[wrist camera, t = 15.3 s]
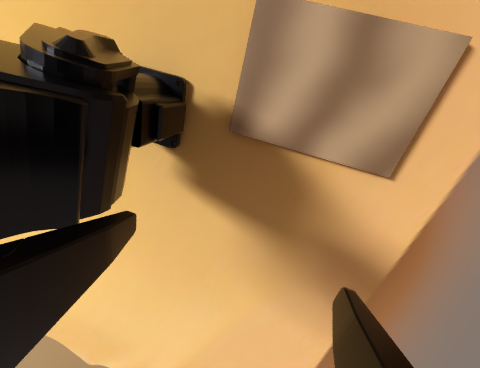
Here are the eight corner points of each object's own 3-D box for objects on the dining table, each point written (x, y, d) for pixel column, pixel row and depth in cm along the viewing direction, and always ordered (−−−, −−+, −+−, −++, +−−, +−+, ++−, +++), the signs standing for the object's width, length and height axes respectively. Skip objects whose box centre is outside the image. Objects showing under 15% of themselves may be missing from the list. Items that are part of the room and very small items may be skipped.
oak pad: (231, 129, 20) (228, 131, 20) (260, -6, 16) (258, -10, 15) (385, 174, 19) (389, 178, 18) (463, 39, 15) (472, 37, 14)
